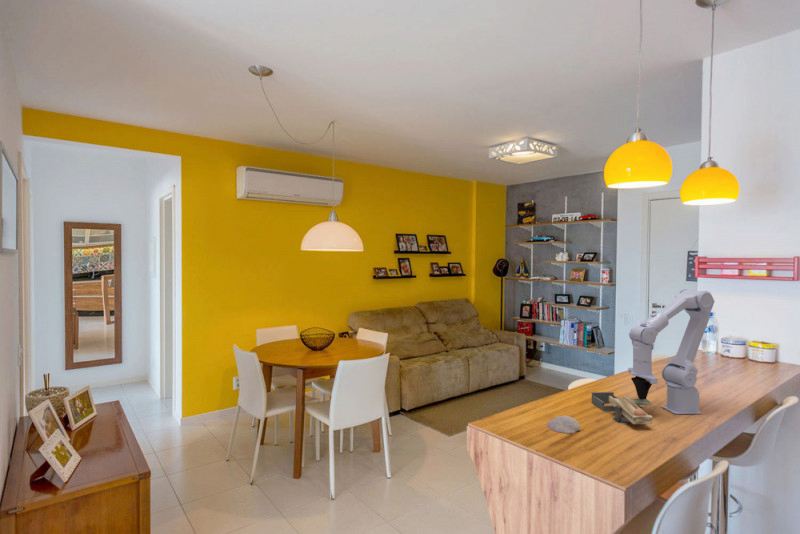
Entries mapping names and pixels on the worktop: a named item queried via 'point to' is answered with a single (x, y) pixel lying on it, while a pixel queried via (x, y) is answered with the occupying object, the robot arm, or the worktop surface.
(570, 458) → the worktop surface
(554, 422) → the seashell
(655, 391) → the worktop surface
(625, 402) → the lever
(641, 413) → the ball
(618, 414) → the pivot stand
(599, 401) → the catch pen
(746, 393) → the worktop surface
